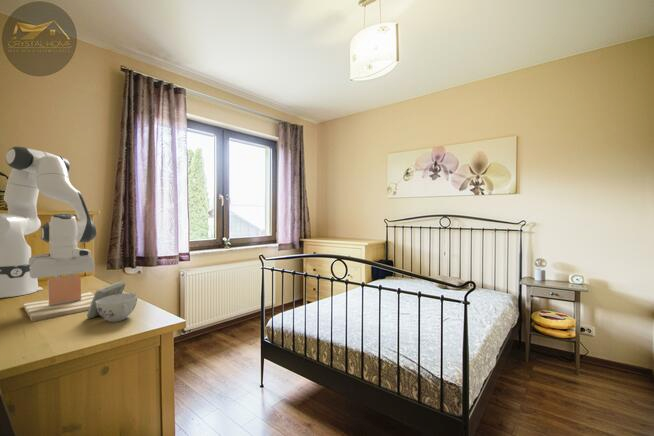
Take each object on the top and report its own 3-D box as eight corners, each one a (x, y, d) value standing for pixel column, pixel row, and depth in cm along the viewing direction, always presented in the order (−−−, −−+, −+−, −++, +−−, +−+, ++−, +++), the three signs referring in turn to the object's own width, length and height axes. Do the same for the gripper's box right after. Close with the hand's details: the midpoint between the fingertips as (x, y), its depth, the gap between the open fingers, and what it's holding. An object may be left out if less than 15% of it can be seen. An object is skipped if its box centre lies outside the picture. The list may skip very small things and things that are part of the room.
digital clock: (114, 305, 122) (114, 280, 122) (134, 306, 121) (134, 280, 121) (78, 319, 106) (77, 290, 106) (100, 320, 105) (100, 291, 105)
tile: (47, 279, 117) (48, 279, 116) (79, 275, 124) (80, 275, 124) (48, 305, 116) (49, 306, 116) (80, 299, 124) (81, 300, 123)
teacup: (91, 320, 105) (90, 298, 105) (130, 311, 115) (130, 291, 115) (104, 330, 96) (104, 306, 96) (145, 319, 106) (145, 297, 105)
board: (23, 306, 119) (23, 303, 119) (90, 295, 137) (90, 292, 137) (32, 321, 103) (32, 317, 103) (107, 306, 120) (106, 302, 120)
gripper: (29, 256, 111) (29, 291, 111) (95, 251, 127) (95, 282, 127) (27, 254, 115) (27, 288, 115) (91, 249, 131) (92, 279, 131)
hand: (64, 285), depth 121 cm, fingers closed, pressing on tile
